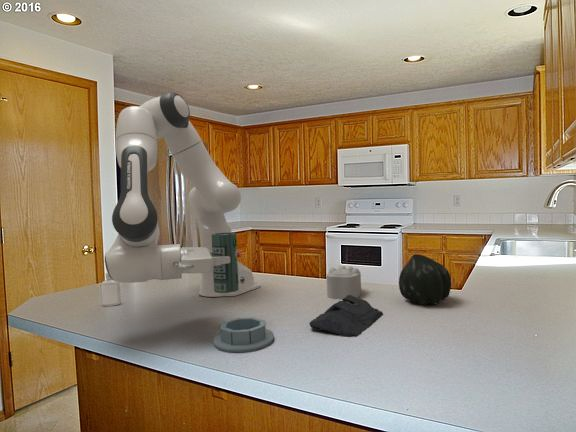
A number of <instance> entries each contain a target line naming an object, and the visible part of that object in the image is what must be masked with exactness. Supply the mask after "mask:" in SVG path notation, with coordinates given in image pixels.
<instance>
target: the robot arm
mask: <svg viewBox="0 0 576 432" xmlns="http://www.w3.org/2000/svg"><path fill="white" fill-rule="evenodd" d="M190 112H191V111H190V107H189V104H188V102H187V100H185V99H184V97H183V96H182V95H181V94H179V93H176V92H175V91H171V92H166V93H163V94H161V95H159V96H157V97H154V98H151V99H149V100H146V101H145V102H144V103H142V104H141V105H139V106H138V105H136V106H135V105H131V106H127V107H125V108H123V109H122V110H121V111H120V112H119V115H118V118H117V122H116V127H115V128H116V129H115V154H116V155H115V156H116V159H117V164H118V166H119V168H120V194H119V199H118V201H117V203H116V204H115V206H114V209H113V212H112V216H111V222H112V223H111V224H112V226H113V228H114V230H115V231H116V232H117V234H116V235H117V236H116V238H115V240H114V242H113V244H112V245H111V246H110V248H109V250H108V251H106V252H105V254H104V264H105V268H106V271H107V272H108V275H109V276H110V278H111V279H112V280H114V281H115V282H120V284H121V283H122V284H123V283H125V284H130V283H131V284H133V283H135V284H136V283H144V282H148V281H151V280H159V281H166V280H167V281H169V280H178V279H182V278H183V277H182V276H183V274H201V277H200V278H201V279H200V286H199V291H198V295H200V296H203V297H209V298H210V297H213V298H215V297H236V296H238V295H241V294H245V293H246V292H250V291H252V290H257V289H258V288H261V283H259V282H258V281H255V279H254V275H253V271H252V270H251V269H250V268H249V267H247V266H245V265H244V264H243V263H241V262H240V261H239V260H237V265H238V289H239V290H237V291H235V292H230V293H217V292H214V277H213V270H214V268H213V266H218V265H221V264H227V263H230V257H229V256H222V257H213V255H212V234H215V233H233V232H232V228H231V227H230V225H229V224H228V222H227V220H226V215H225V214H227V213H229V212H233V211H234V210H236V209H237V208H238V207H239V205H240V204H241V200H242V196H241V191H240V189H239V187H238V185H236V184H234V183H233V182H231V181H230V180H229V179H228V178H227V176H225V174H224V173H223V172H222V170H221V169H220V168H218V166H217V165H216V163H215V162H214V161H213V159H212V157H211V155H210V153H209V152H208V150H207V148H206V145H205V144H204V142H203V140H202V138H201V136H200V134H199V133H198V132H197V130H196V128H195V127H194V125H193V124H192V122H191V121H190V117H191V115H190V114H191V113H190ZM162 137H163V139H164V141H165V144H166V147H167V149H168V150H169V152H170V155H171V156H172V159H173V160H174V161H175V164H176V165H177V167H178V169H179V170H180V173H181V174H182V176H183V177H184V178H186V179H187V180H188V182H190V183H191V184H192V185H193V188H192V189H191V190H190V191H189V193H188V196H187V199H188V204H189V206H190V207H191V208H192V210H193V213H194V217H195V220H196V223H197V227H198V232H199V244H200V246H182V247H181V244H180V243H177V244H175V243H174V244H161V245H158V243H159V240H160V235H161V234H160V233H161V232H160V226H159V221H158V211H157V210H156V207H155V205H154V203H153V202H152V200H151V199H150V196H149V172H150V171H152V170H154V168H155V167H156V166H157V160H158V153H159V152H158V150H159V149H158V148H159V147H158V139H160V138H162ZM243 255H244V254H243V252H242V251H237V258H242V257H243ZM107 272H106V273H107Z"/></svg>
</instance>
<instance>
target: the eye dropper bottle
mask: <svg viewBox="0 0 576 432" xmlns="http://www.w3.org/2000/svg"><path fill="white" fill-rule="evenodd" d="M100 286H101V287H100V288H101V291H100V292H101V300H102V301H101V302H102V306H104V307H114V306H118V305H120V304H121V303H122V297H121V296H122V295H121V294H122V293H121V283H120V282H115V281H114V280H112V279H111V278H110V276H109V275H108V272H106V273H105V279H104V281H102V282H101V284H100Z"/></svg>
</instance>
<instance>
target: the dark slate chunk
mask: <svg viewBox="0 0 576 432" xmlns="http://www.w3.org/2000/svg"><path fill="white" fill-rule="evenodd" d="M382 316H384V312H383V311H382V310H379V309H378V308H375V307H373V306H372V305H371V304H370V303H369V302H368V301H367V300H365V299H362V298H359V297H358V298H356V297H354V296H352V295H347V296H346V297H345V298H344V299H341V300H339V301H337V302H336V303H333V304H332V305H331V306H330V307H328V308H327V309H326V311H325V312H323V313H321V314H318V316H316V317H315V318H314V319H312V320H311V321H310V322H309V327H310V328H312V329H314V330H320V331H324V332H329V333H332V334H336V335H340V336H343V337H352V338H353V337H356V338H357V337H359V336H360V335H362V334H363V332H365V331H366V330H367V329H369V328H370V327H371V326H373V324H375V323H376V322H377V321H378V320H379V319H380V318H382Z"/></svg>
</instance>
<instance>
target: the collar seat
mask: <svg viewBox="0 0 576 432" xmlns="http://www.w3.org/2000/svg"><path fill="white" fill-rule="evenodd" d="M266 327H267V326H266V320H265V319H262V318H260V317H259V318H258V317H253V316H252V317H251V316H250V317H236V318H233V319H230V320H227V321H223V322H222V324H220V327H219V330H220V331H219V332H220V333H218V334H216V335H215V337H214V338H213V346H214V347H215V349H216V350H218V351H221V352H225V353H235V354H236V353H238V354H239V353H240V354H241V353H250V352H256V351H259V350H262V349H265V348H267V347H269V346H270V345H272V344H273V342H274V341H275V336H274V332H273V331H272V330H271V329H268V328H266Z"/></svg>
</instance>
